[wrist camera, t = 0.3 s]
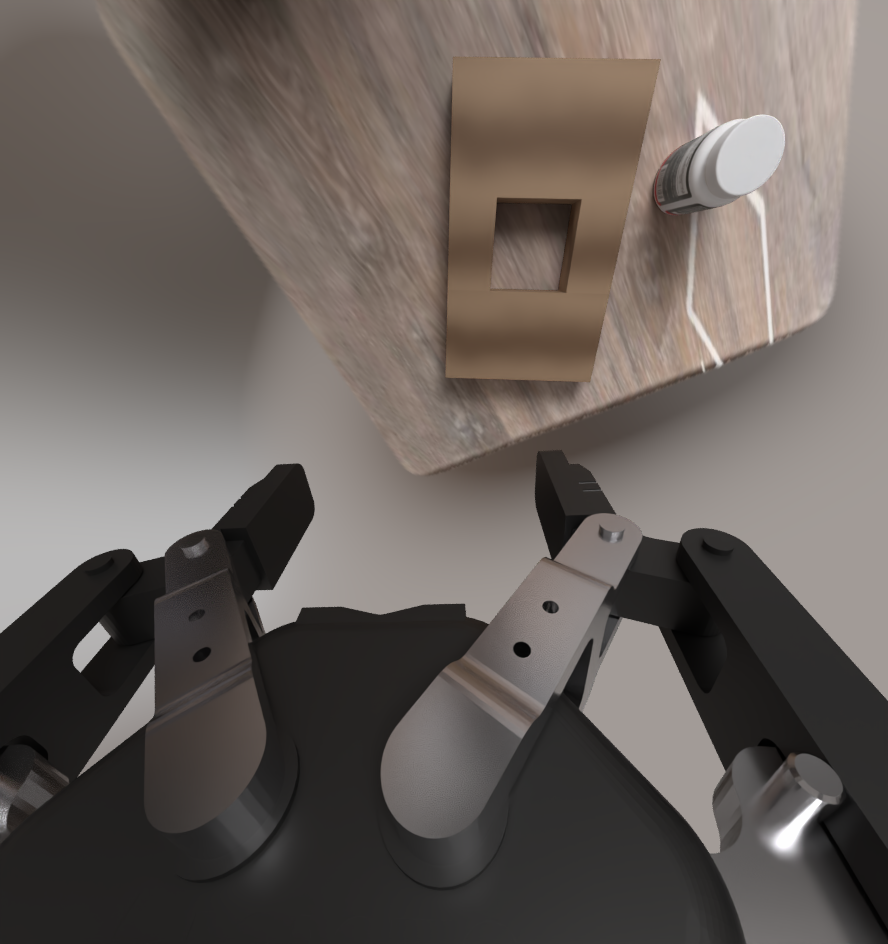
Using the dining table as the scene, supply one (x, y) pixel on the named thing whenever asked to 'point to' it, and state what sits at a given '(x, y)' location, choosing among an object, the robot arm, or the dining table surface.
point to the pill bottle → (720, 165)
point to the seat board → (544, 182)
